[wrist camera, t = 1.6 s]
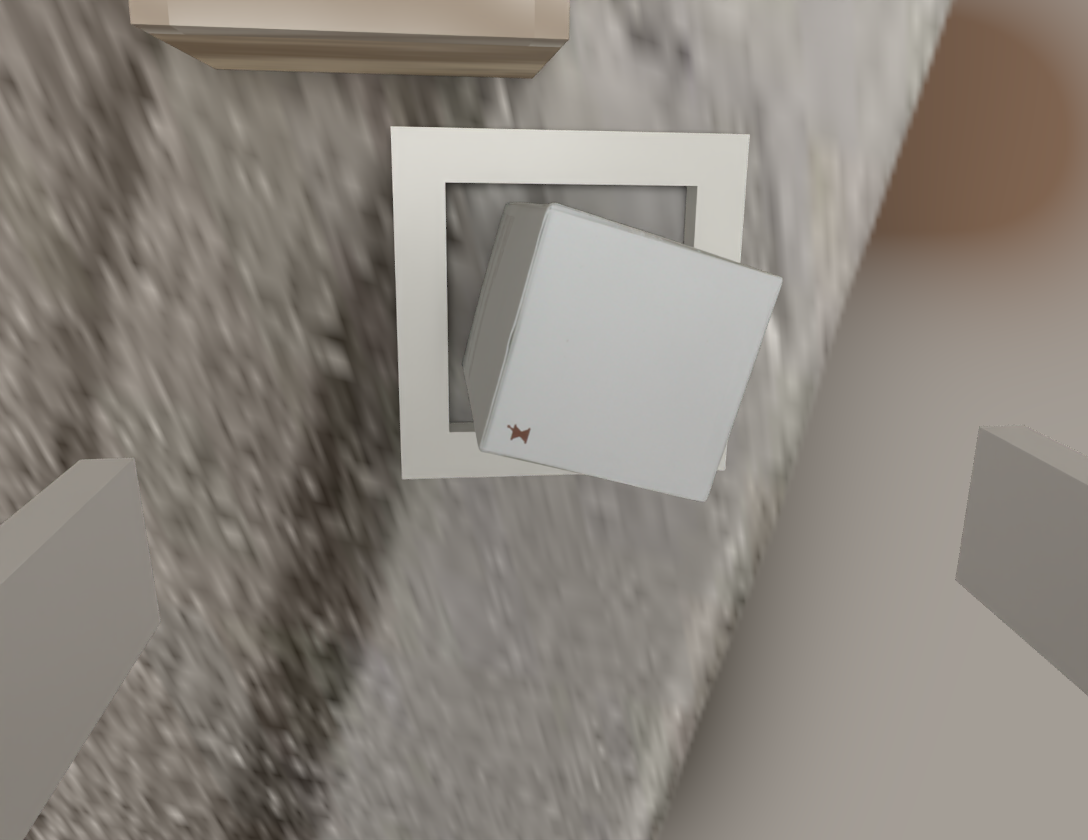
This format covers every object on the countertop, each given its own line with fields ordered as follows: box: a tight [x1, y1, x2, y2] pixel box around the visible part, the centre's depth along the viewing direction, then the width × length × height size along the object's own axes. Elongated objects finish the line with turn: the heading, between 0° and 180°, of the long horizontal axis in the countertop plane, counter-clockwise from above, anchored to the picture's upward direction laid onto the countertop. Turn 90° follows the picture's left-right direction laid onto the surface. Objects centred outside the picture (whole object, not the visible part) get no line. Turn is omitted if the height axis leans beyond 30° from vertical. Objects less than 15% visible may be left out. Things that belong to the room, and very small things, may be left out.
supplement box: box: [462, 202, 783, 502], centre depth 30 cm, size 7×7×13 cm
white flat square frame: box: [391, 126, 750, 479], centre depth 36 cm, size 14×14×2 cm
